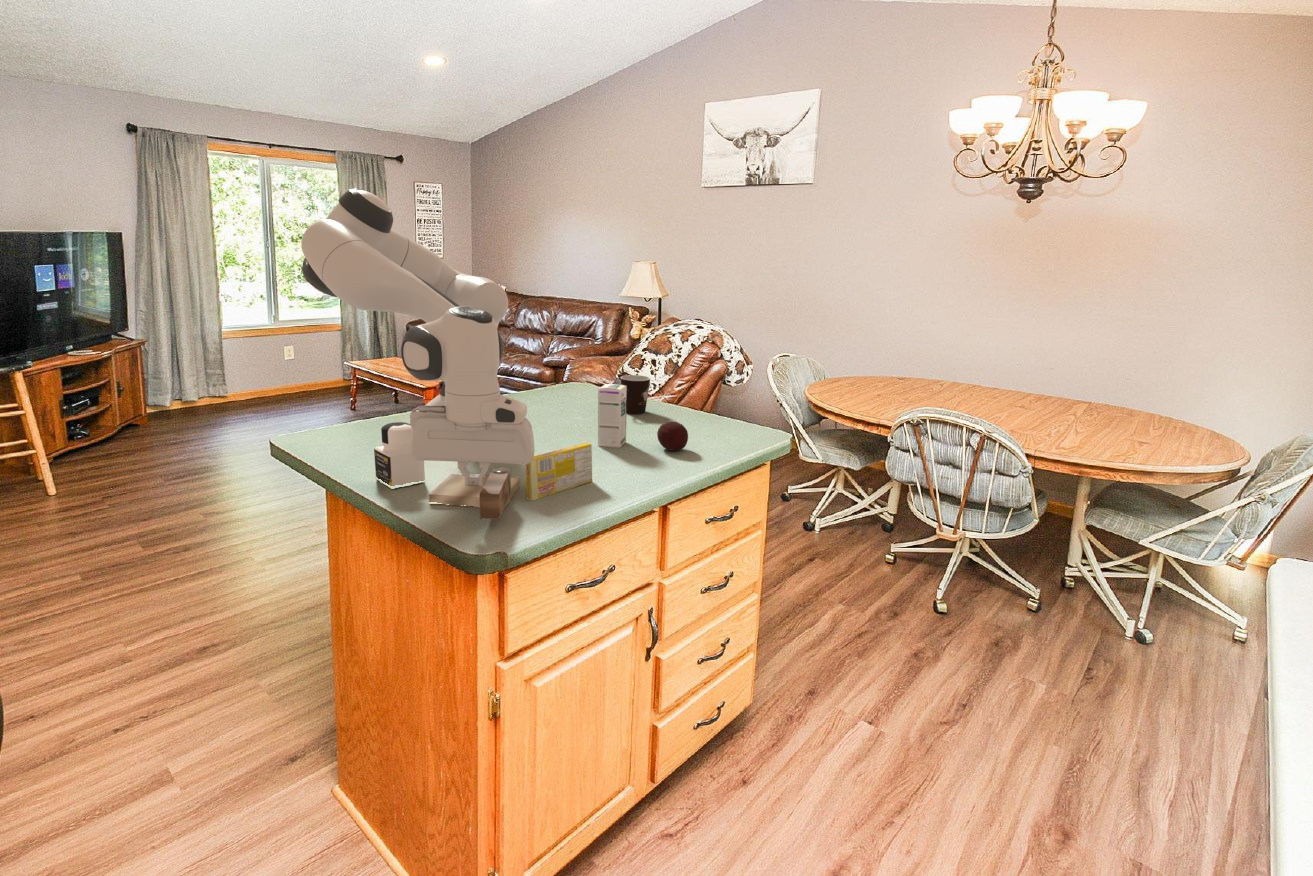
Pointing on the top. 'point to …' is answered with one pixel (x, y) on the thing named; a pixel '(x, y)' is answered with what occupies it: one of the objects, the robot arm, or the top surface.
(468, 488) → the stool seat
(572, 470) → the candy box
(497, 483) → the folding leg
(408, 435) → the medicine bottle
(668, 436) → the dark red plum
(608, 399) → the syrup box
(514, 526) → the top surface
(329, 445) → the top surface
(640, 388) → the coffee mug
